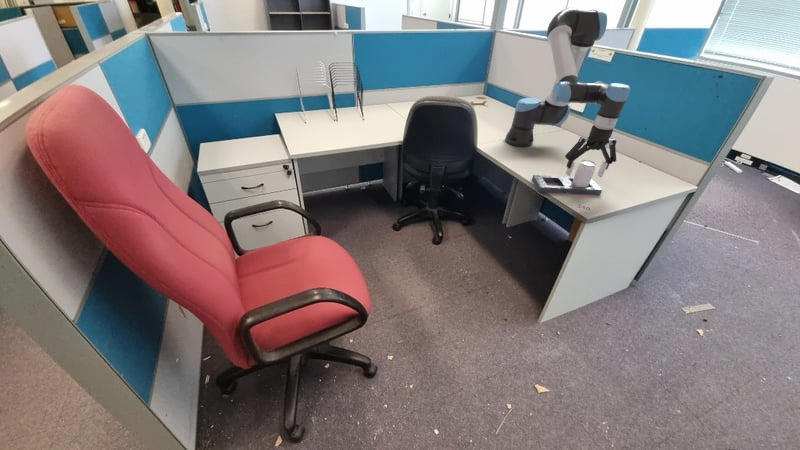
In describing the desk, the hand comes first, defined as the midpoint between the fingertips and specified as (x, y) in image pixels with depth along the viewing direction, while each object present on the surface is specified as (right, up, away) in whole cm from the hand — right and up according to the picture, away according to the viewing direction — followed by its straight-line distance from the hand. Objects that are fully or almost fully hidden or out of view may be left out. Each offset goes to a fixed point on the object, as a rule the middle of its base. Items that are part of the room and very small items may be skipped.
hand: (583, 175), depth 141 cm
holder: (-6, -5, +4) cm, 9 cm away
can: (0, -5, +4) cm, 6 cm away
